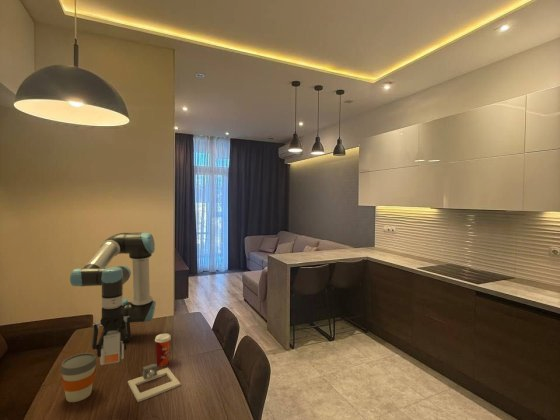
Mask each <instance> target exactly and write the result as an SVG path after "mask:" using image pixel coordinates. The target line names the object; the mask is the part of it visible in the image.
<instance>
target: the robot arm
mask: <svg viewBox="0 0 560 420" xmlns="http://www.w3.org/2000/svg"><path fill="white" fill-rule="evenodd" d="M155 245H156V244H155V239H154V236H153V235H152V233H150V232H120V233H116V234H114V235H112V236H109V237H108V238H106V239H105V240H104V241H103V242H102V243H101V244H100V248H99V249H98V250H97V252H95V254H94V255H93V256H92V257H91V259H90V260H89V261H88V262H87V263H86V264H85V265H84V266H83V268H81V267H79V268H74V269H72V271H71V273H70V276H69V282H70V284H71V286H72V287H95V286H98V287H99V286H101V318H100V321H98V322H93V323H92V328H93V333H92V338H91V348H92V350H96V356H97V358H99V364H100V366H103V342H104V336H106V334H107V332H109V331H117V330H118V331H119V332H120V335H121V347H120V360H123V359H124V358H125V357H124V356H125V355H124V354H125V352H124V351H126V350H127V343H128V342H130V341H131V340H132V332H131V323H146V322H150V321H152V320H153V319H154V316H155V315H154V314H155V310H156V306H157V305H156V304H157V303H156V300H155V299H154V298H153V296H151V295H150V294H151V292H150V291H151V290H150V258H151V257H152V255H153V254H154V253H155V250H156V249H155ZM121 254H123V255H124V254H126V255H128V257H129V259H131V260H132V261H131V262H132V264H131V265H132V272H131V269H130V268H129V267H128V266H126V265H119V266H113V267H108V265H109V263H110V262H111V261H113V260H112V259H114V258H115V257H116V256H118V255H121ZM131 274H132V285H133V286H132V289H133V293H132V294H133V298H131V300H130V301H129V300H128V299H127V298H123V289H124V288H123V287H124V285H125V284H126V283H127V282H128V281H129V279H130V277H131ZM153 299H154V300H153ZM100 326H103V328H102V332H101V334H100V336H99V339H98V335H99V328H100Z"/></svg>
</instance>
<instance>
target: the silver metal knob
mask: <svg viewBox="0 0 560 420" xmlns="http://www.w3.org/2000/svg"><path fill="white" fill-rule="evenodd" d="M147 374H148V375H149V376H153V375H154V370H152V369H149V370H147Z"/></svg>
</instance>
